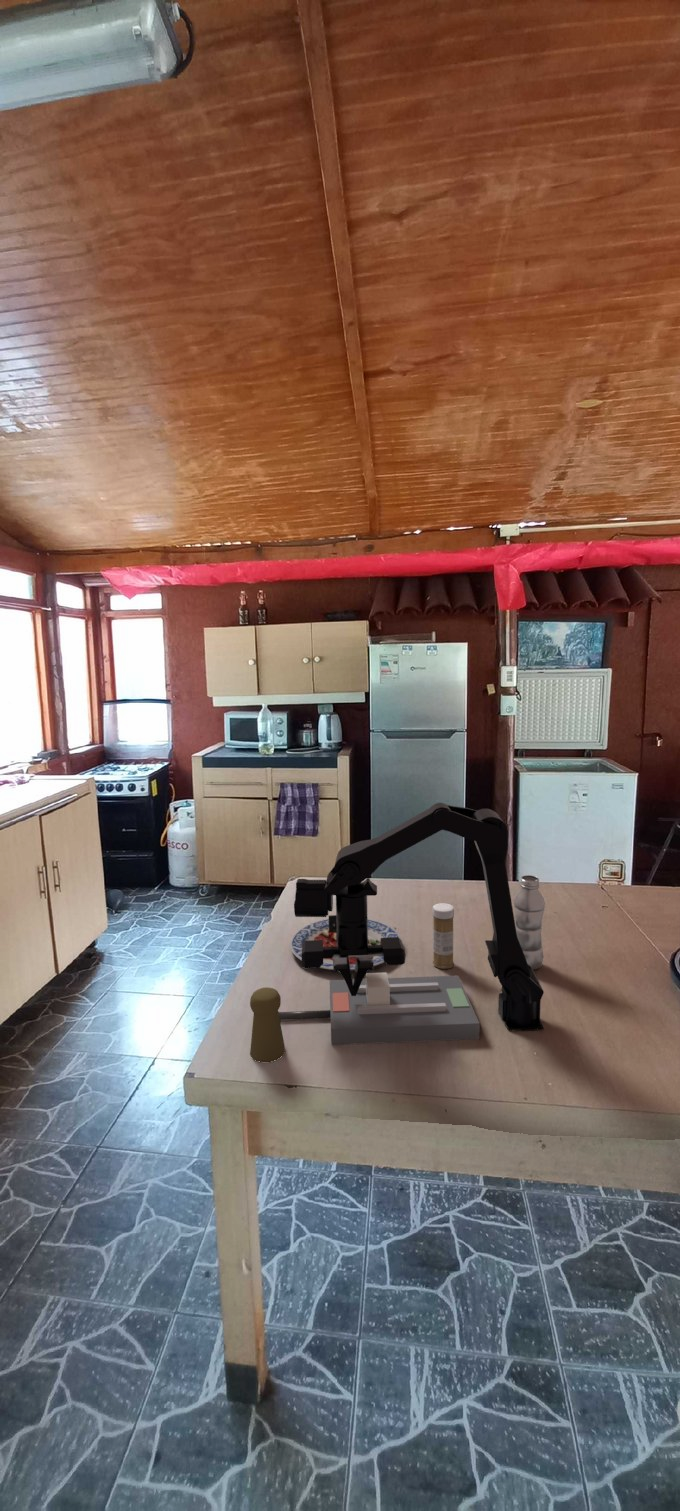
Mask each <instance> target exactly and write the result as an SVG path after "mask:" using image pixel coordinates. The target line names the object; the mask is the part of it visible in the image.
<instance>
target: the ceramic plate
mask: <svg viewBox="0 0 680 1511" xmlns="http://www.w3.org/2000/svg"><path fill="white" fill-rule="evenodd" d="M368 936H369V937H368V944H371V945H380V939H381V938H390V937H399V938H400V939H401V937H400V935H399V933H397V931H396V930H394V929H393V928H392V927H391V926H388V925H386V924H384V923H382V922H379V921H376V920H373V919H368ZM370 937H372V938H370ZM309 940H323V947H337V941H336V933H329V918H328V919H327V918H326V919H322V920H318V921H315V922H311V923H310V924H307V925H305V926H304V927H301V928H300V929H299V930H297V931H296V932H295V933H294V934H293V935H292V937H291V939H290V946H289V947H290V950H291V952H292V953H293V955H294V956H295V957H296V958H297V959H298V960H299V961H301V962H302V944H303V943H304V942H305V941H309ZM372 960H373V966H374V967H376V966H379V965H383V963H384V964H385V962H384V959H383V956H373V959H372ZM349 962H350V969H351V971H355V962H356V957H349ZM319 969H324V970H329V971H334V968H333V958H323V965H322V966H321V967H320V968H319Z"/></svg>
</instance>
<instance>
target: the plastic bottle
mask: <svg viewBox="0 0 680 1511" xmlns="http://www.w3.org/2000/svg"><path fill="white" fill-rule="evenodd" d="M520 878H521V879H520V890H518V892H517V893H516V894H515V897H514V899H513V905H514V906H513V907H514V918H515V926H516V933H517V938H518V940H519V943H520V945H521V948H522V950H523V953H524V955H525V958H526V961H527V963H528V964H529V965H530V966H531V967H532V969H533V971H535V970H538V969H539V968H540V967H541V966H542V965H543V962H544V950H543V949H544V948H543V944H542V942H543V940H542V927H543V918H544V913H545V907H546V901H545V897H544V896H543V894H542V893H541V891H540V890H539V888H540V878H539V877H538V876H535V875H531V874H530V875H526V874H525V875H522V876H521V877H520Z"/></svg>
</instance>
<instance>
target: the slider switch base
mask: <svg viewBox="0 0 680 1511" xmlns="http://www.w3.org/2000/svg"><path fill="white" fill-rule="evenodd" d="M352 981H353V983H354V978H352ZM388 981H389V986H390V1005H375V1006H368V1003H367V996H366V978H363V980H362V982H361V985H360V987H359V989H358V992H357V994H356V996H351V993H350V991H349V989H348V986H347V984H346V982H345V980H344V979H329V1008H330V1009H327V1010H326V1009H325V1010H322V1009H321V1010H303V1011H302V1010H299V1011H298V1010H297V1011H278V1013H279V1018H280V1021H294V1020H296V1021H297V1020H321V1019H323V1020H324V1019H330V1043H331V1046H333V1045H334V1046H335V1045H355V1044H357V1045H359V1044H382V1043H383V1044H385V1043H406V1042H407V1043H409V1042H411V1043H412V1042H413V1043H414V1042H437V1041H438V1042H439V1041H458V1040H461V1041H463V1040H479V1039H480V1021H479V1019H478V1017H477V1015H476V1013H475V1011H474V1008H473V1006H472V1004H471V1001H470V999H469V997H468V994H467V993H466V990H465V988H464V985H463V983H462V981H461V979H460V977H459V975H439V976H438V975H437V976H435V975H434V976H413V977H412V976H411V977H409V976H408V977H407V976H406V977H388Z"/></svg>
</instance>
